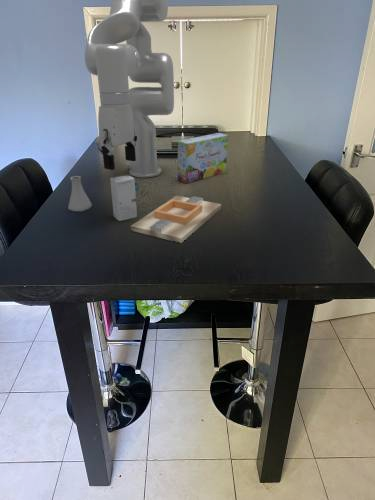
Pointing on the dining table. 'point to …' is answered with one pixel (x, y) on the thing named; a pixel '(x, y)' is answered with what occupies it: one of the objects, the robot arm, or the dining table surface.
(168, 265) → the dining table surface
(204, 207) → the board
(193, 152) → the snack box
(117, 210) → the skincare box
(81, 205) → the flask
